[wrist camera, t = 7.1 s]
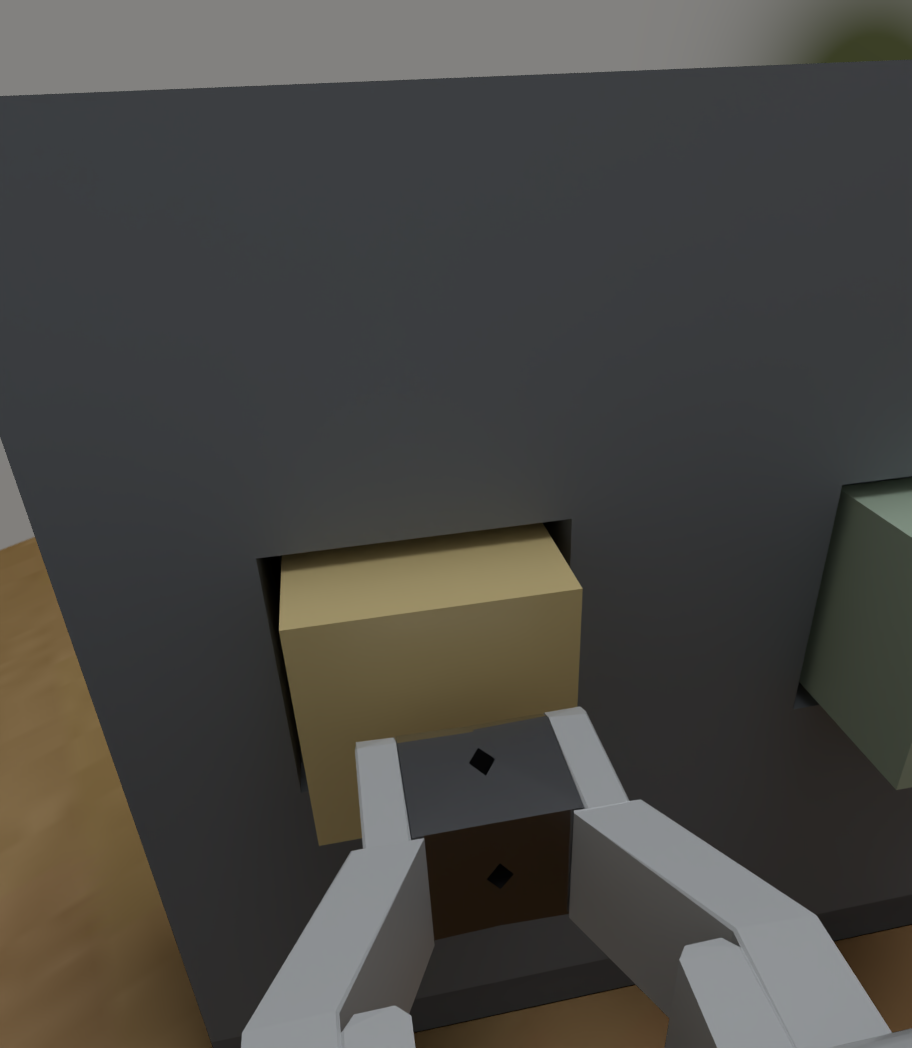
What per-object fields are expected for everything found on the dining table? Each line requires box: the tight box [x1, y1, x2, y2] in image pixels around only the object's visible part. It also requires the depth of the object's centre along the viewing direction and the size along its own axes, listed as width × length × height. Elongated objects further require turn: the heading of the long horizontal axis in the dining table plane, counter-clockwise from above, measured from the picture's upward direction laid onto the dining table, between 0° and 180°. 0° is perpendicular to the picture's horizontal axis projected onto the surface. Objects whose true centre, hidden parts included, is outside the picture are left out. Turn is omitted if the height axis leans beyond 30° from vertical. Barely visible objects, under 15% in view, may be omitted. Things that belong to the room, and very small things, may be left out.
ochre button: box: [279, 523, 583, 846], centre depth 12 cm, size 3×4×4 cm
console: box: [0, 60, 912, 1048], centre depth 16 cm, size 6×28×18 cm, turn 100°
